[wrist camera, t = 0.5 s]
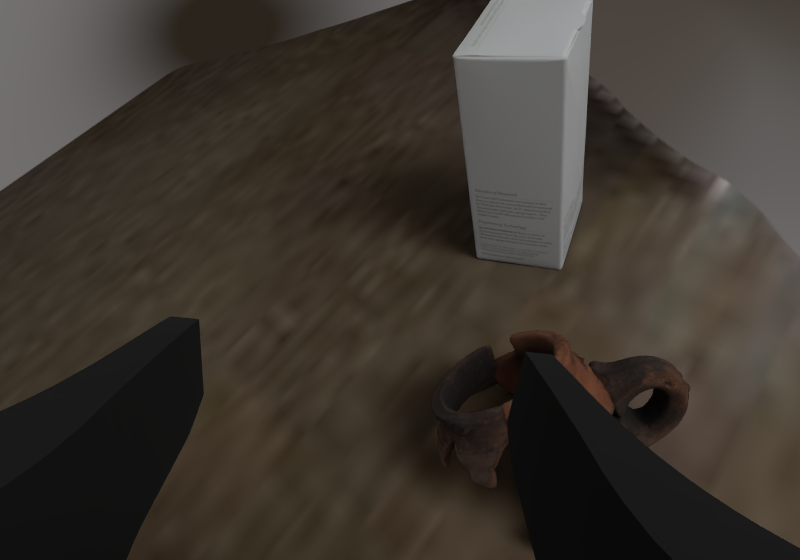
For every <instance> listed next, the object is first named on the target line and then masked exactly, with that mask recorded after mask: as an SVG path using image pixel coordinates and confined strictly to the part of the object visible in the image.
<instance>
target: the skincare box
mask: <svg viewBox="0 0 800 560" xmlns="http://www.w3.org/2000/svg"><path fill="white" fill-rule="evenodd" d="M592 9H593V0H491V1H490V2H489V4H488V5H487V7H486V8H485V10H484V11H483V13H482V14H481V16H480V17H479V19H478V20H477V21H476V23H475V24H474V26H473V27H472V29H471V30H470V32H469V33H468V34H467V36H466V37H465V39H464V40H463V42H462V43H461V44H460V46H459V47H458V49H457V50H456V51H455V53H454V54H453V60H454V66H455V75H456V84H457V92H458V101H459V109H460V118H461V127H462V135H463V144H464V153H465V161H466V170H467V178H468V187H469V196H470V204H471V213H472V221H473V230H474V239H475V247H476V255H477V258H479V259H485V260H493V261H500V262H507V263H514V264H521V265H528V266H535V267H542V268H549V269H556V270H561V269H562V266H563V263H564V260H565V257H566V254H567V251H568V248H569V244H570V241H571V238H572V234H573V231H574V228H575V225H576V221H577V218H578V214H579V211H580V207H581V203H582V186H583V167H584V149H585V132H586V114H587V95H588V78H589V59H590V41H591V25H592V24H591V23H592Z"/></svg>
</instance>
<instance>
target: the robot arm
mask: <svg viewBox="0 0 800 560" xmlns="http://www.w3.org/2000/svg"><path fill="white" fill-rule="evenodd" d="M203 394H204V391H203V376H202V360H201V344H200V328H199V319H191V318H181V317H169V318H167V319H165V320H164V321H162V322H160V323H159V324H157V325H155V326H154V327H152V328H150V329H149V330H147V331H146V332H144V333H142V334H141V335H139V336H138V337H136V338H135V339H133V340H131V341H130V342H128V343H127V344H125V345H123V346H122V347H120V348H118V349H117V350H115V351H114V352H112V353H110V354H109V355H107V356H105V357H104V358H102V359H101V360H99V361H97V362H96V363H94V364H92V365H90V366H88V367H87V368H85V369H83V370H81V371H79V372H78V373H76V374H74V375H72V376H70V377H69V378H67V379H65V380H63V381H61V382H60V383H58V384H56V385H54V386H52V387H50V388H48V389H46V390H45V391H43V392H41V393H39V394H36V395H34V396H32V397H30V398H28V399H26V400H24V401H22V402H20V403H17V404H15V405H13V406H11V407H9V408H6V409H4V410H2V411H0V560H126V559H127V556H128V554H129V551H130V549H131V547H132V544H133V542H134V540H135V538H136V536H137V534H138V531H139V529H140V527H141V525H142V523H143V521H144V519H145V517H146V515H147V514H148V512H149V510H150V508H151V506H152V504H153V502H154V500H155V498H156V497H157V495H158V493H159V491H160V489H161V487H162V485H163V483H164V481H165V480H166V478H167V476H168V474H169V472H170V470H171V468H172V466H173V464H174V462H175V461H176V459H177V457H178V455H179V453H180V451H181V449H182V447H183V445H184V443H185V441H186V439H187V437H188V435H189V433H190V431H191V428H192V425H193V423H194V420H195V417H196V415H197V412H198V409H199V406H200V403H201V400H202V397H203ZM507 430H508V440H509V448H510V456H511V464H512V468H513V472H514V476H515V480H516V484H517V488H518V492H519V496H520V500H521V504H522V508H523V512H524V516H525V520H526V524H527V528H528V531H529V535H530V539H531V543H532V547H533V551H534V555H535V559H536V560H800V548H798V547H796V546H795V545H793V544H791V543H789V542H788V541H786V540H784V539H782V538H780V537H779V536H777V535H775V534H773V533H772V532H770V531H768V530H766V529H765V528H763V527H761V526H759V525H758V524H756V523H754V522H753V521H751V520H749V519H748V518H746V517H744V516H743V515H741V514H740V513H738V512H736V511H735V510H733V509H732V508H730V507H729V506H727V505H726V504H724V503H723V502H721V501H720V500H718V499H717V498H715V497H713V496H712V495H710V494H709V493H707V492H706V491H704V490H703V489H702V488H700V487H699V486H697V485H696V484H694V483H693V482H692V481H690V480H689V479H687V478H686V477H685V476H683V475H682V474H681V473H680V472H678V471H677V470H676V469H674V468H673V467H672V466H670V465H669V464H668V463H667V462H665V461H664V460H663V459H661V458H660V457H659V456H658V455H656V454H655V453H654V452H653V451H651V450H650V449H649V448H648V447H647V446H645V445H644V444H643V443H642V442H641V441H640V440H639V439H638V438H636V437H635V436H634V435H633V434H632V433H631V432H630V431H629V430H627V429H626V428H625V427H624V426H623V425H622V424H621V423H620V422H619V421H618V420H617V419H616V418H614V417H613V416H612V415H611V414H610V413H609V412H608V411H607V410H606V409H605V408H604V407H603V406H602V405H601V404H600V403H599V402H598V401H597V400H596V399H595V398H594V397H593V396H592V395H591V394H590V393H589V392H588V391H587V390H586V389H585V388H584V387H583V386H582V384H581V383H580V382H579V381H578V380H577V379H576V378H575V377H574V376H573V375H572V374H571V373H570V372H569V371H568V370H567V369H566V368H565V367H564V366H563V365H562V364H561V363H560V362H559V361H558V360H557V359H556V358H555V357H554V356H553V355H552V354H543V353H533V352H525V353H524V357H523V361H522V365H521V369H520V373H519V377H518V380H517V384H516V388H515V392H514V396H513V400H512V404H511V408H510V412H509V416H508V420H507Z"/></svg>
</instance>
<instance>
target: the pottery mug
mask: <svg viewBox="0 0 800 560" xmlns="http://www.w3.org/2000/svg"><path fill="white" fill-rule="evenodd" d="M510 342H511V344H512V345H513V347H514V349H515V350H514V351H512V352H509V353H507V354H504V355H503V356H501V357H499V358H497V359H495V360H494V355H493V352H492V348H491V347H490V346H485V347H481V348H479V349H477V350H476V351H474V352H472V353H471V354H469V355H468V356H466V357H465V358H464V359H462V360H461V361H460V362H458V363H457V364H456V365H455V366H454V367H453V368H452V369H451V370H450V371H449V372H448V373H447V374H446V375H445V377H444V378H443V379H442V382H441V383H440V384H439V385H438V387H437V388H436V390H435V391H434V396H433V398H432V401H431V406H432V411H433V413H434V414H435V417H436V418H437V419H438V420H439V425H438V430H437V433H438V450H439V456H440V460H441V463H442V466H443V467H444V468H446V467H448V466H449V464H450V455H451V452H452V450H453V448H454V446H455V453H456V455H457V457H458V460H459V462H460V463H461V464H462V465H463V466H464V467H465V468H466V469H467V471H468V472H469V476H470V478H471V480H472V481H473V482H474V483H475V484H477V485H480V486H483V487H486V488H495V487H496V485H497V477H496V472H495V468H496V466H497V465H498V463H499V460H500V457H501V455H502V453H503V450H504V449H505V447H506V446H507V445H508V443H509V440H508V430H507V420H508V416H509V412H510V408H511V404H512V400H513V399H511V400H510V401H508V402H505V403H504V404H503V405H501V406H497V407H493V408H489V409H486V410H483V411H478V412H457V411H458V409H459V408H460V407H461V405H462V404H463V403H464V402H465V401H466V400H467V399H468V398H469V397H470V396H471V395H473V394H475V393H477V392H479V391H482V390H484V389H486V388H488V387H491V386H494V385H495V384H499V385H500V386H501V387H502V388H503V389H505V390H507V391H508V392H510V393H511V394H514V392H515V388H516V384H517V380H518V377H519V373H520V369H521V365H522V361H523V357H524V353H525V352H533V353H543V354H552V355H553V356H554V357H555V358H556V359H557V360H558V361H559V362H560V363H561V364H562V365H563V366H564V367H565V368H566V369H567V370H568V371H569V372H570V373H571V374H572V375H573V376H574V377H575V378H576V379H577V380H578V381H579V382H580V383H581V384H582V386H583V387H584V388H585V389H586V390H587V391H588V392H589V393H590V394H591V395H592V396H593V397H594V398H595V399H596V400H597V401H598V402H599V403H600V404H601V405H602V406H603V407H604V408H605V409H606V410H607V411H608V412H609V413H610V414H611V415H612V416H613V417H614V418H616V419H617V420H618V421H619V422H620V423H621V424H622V425H623V426H624V427H625V428H626V429H627V430H629V431H630V432H631V433H632V434H633V435H634V436H635V437H636V438H638V439H639V440H640V441H641V442H642V443H643V444H644V445H645V446H647V447H649V446H651V445H652V444H654V443H655V442H657V441H658V440H660V439H661V438H663V437H664V436H666V435H667V434H668V433H670V432H671V431H672V430H673V429H674V428H675V427H676V426H677V425H678V424H679V423H680V421H681V420H682V418H683V416H684V415H685V413H686V410H687V406H688V400H689V390H690V386H689V384H687V383H686V382H685V381H684V380H683V376H682V374H681V373H680V372H679V371H678V370H677V369H676V368H675V367H674V365H672V364H671V363H670V362H668V361H666V360H664V359H661V358H658V357H654V356H636V357H630V358H626V359H623V360H618V361H615V362H607V363H604V362H598V361H592V362H590V363H589V365H588V364H587V363H586V362H585V361H584V357H582V356H581V355H579V354H576V353H574V352H572V351H571V349H570V346H569V343H568V341H567V340H565V338H564V337H562V336H561V335H559V334H556V333H554V332H551V331H546V330H545V331H544V330H543V331H539V330H536V331H526V332H520V333H517V334H514V335H512V336H511V337H510ZM652 388H654V389H653V394H652V396H651V398H650V399H649V401H648V402H647V403H646V404H645V405H644V406H642V407H641V408H637V409H632V408H630V407H628V404H629V403H630V401H631V400H632V399H633V398H634V397H635V396H637V395H638V394H639V393H641V392H643V391H645V390H648V389H652Z"/></svg>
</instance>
